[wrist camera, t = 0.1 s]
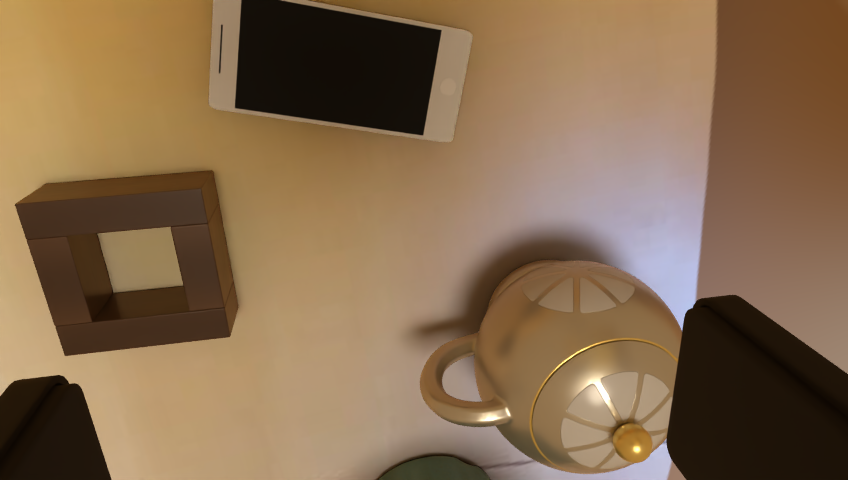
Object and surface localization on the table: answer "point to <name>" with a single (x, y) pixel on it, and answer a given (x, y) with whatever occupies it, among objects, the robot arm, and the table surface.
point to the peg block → (87, 275)
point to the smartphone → (337, 67)
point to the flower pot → (435, 470)
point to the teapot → (568, 366)
